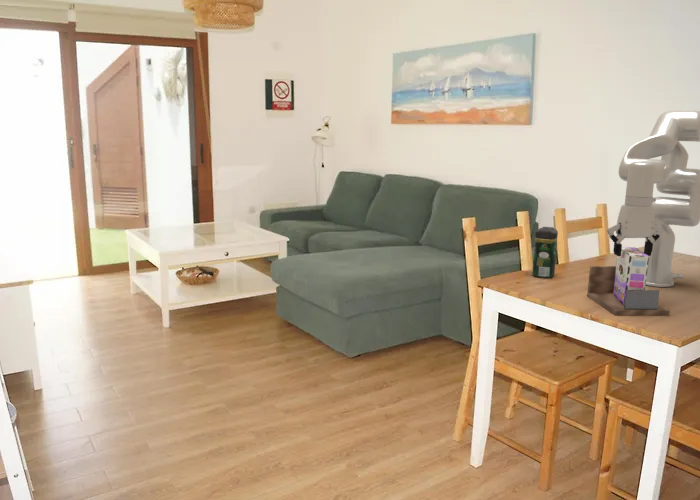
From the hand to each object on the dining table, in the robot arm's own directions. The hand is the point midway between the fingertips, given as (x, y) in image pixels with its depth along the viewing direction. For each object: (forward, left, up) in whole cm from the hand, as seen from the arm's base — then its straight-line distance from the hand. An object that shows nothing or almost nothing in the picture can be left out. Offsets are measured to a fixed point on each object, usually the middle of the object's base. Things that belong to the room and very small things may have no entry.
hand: (632, 254), depth 188 cm
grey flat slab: (0, +9, -15) cm, 18 cm away
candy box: (0, 0, -15) cm, 15 cm away
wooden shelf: (0, +1, -17) cm, 16 cm away
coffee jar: (+14, -36, -17) cm, 42 cm away
